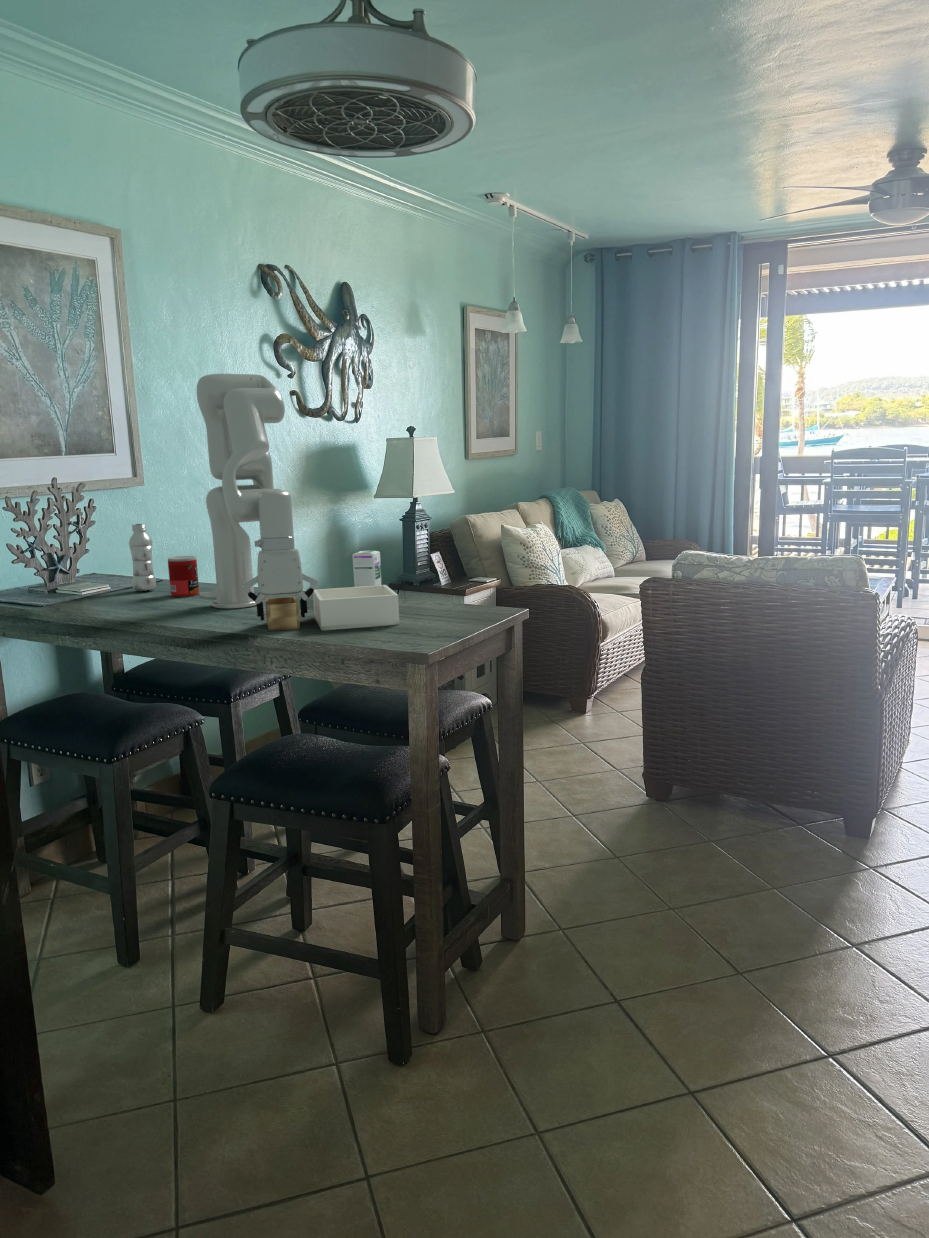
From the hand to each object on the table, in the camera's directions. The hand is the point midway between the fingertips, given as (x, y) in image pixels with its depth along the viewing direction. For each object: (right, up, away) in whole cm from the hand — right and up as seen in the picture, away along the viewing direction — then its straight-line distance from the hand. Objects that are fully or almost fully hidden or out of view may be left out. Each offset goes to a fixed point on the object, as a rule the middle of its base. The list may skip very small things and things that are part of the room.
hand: (282, 617), depth 207 cm
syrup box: (+18, +3, +21) cm, 28 cm away
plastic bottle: (-53, +8, +58) cm, 79 cm away
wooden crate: (0, -2, 0) cm, 2 cm away
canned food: (-38, +6, +48) cm, 62 cm away
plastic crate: (+17, -1, +4) cm, 17 cm away
